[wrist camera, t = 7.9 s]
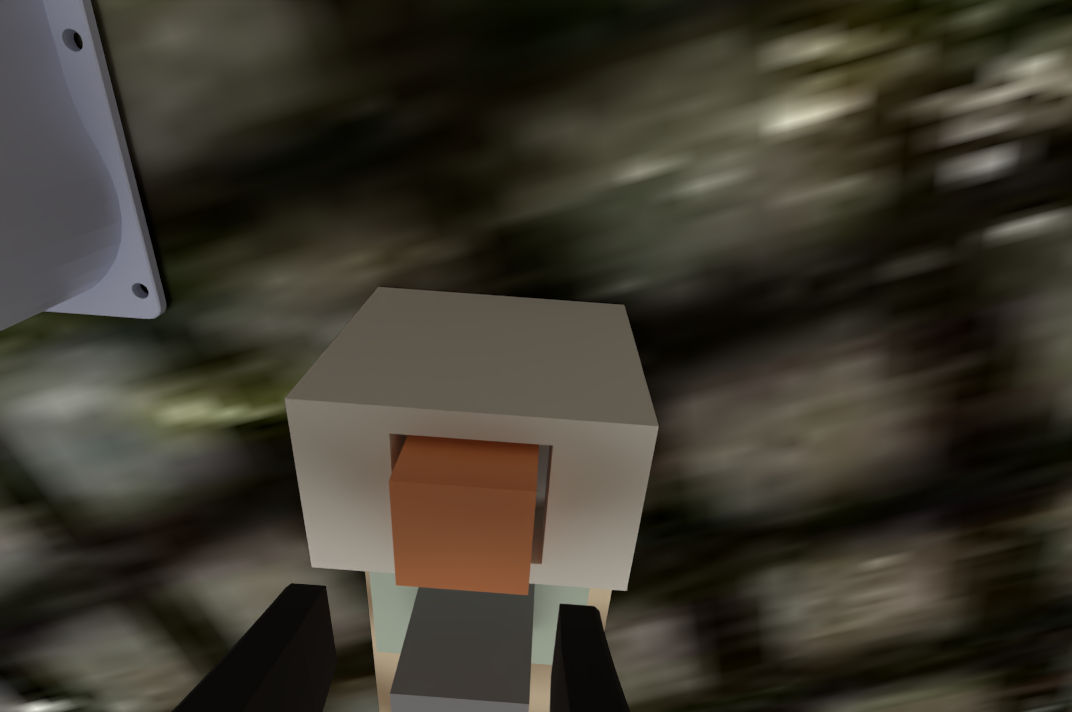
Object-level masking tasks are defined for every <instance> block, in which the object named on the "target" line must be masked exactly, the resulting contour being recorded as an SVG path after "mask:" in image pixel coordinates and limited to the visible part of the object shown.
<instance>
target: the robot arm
mask: <svg viewBox="0 0 1072 712" xmlns="http://www.w3.org/2000/svg"><path fill="white" fill-rule="evenodd" d="M75 32H77V33H78V34H79V35H80V36H81V39H82V41H83V47H82V49H79V48H78V47H77V45H76V43H75V41H74V34H75ZM140 284H143V285H144V286H145V287H147V289H148V291H149V294H148V293H145V292H144V291H143V290H142V288H141V287H140ZM165 310H166V299H165V295H164V291H163V287H162V283H161V279H160V275H159V271H158V267H157V263H156V259H155V256H154V252H153V248H152V244H151V240H150V236H149V232H148V228H147V224H146V220H145V216H144V212H143V208H142V204H141V200H140V196H139V192H138V188H137V184H136V180H135V176H134V172H133V168H132V164H131V160H130V156H129V152H128V148H127V144H126V140H125V136H124V132H123V128H122V124H121V120H120V116H119V112H118V108H117V104H116V100H115V96H114V92H113V88H112V84H111V80H110V76H109V72H108V68H107V64H106V60H105V56H104V52H103V48H102V44H101V40H100V36H99V32H98V28H97V24H96V20H95V16H94V12H93V8H92V4H91V0H0V331H2V330H4V329H6V328H8V327H10V326H13V325H15V324H17V323H19V322H21V321H23V320H26V319H28V318H30V317H32V316H34V315H36V314H38V313H41V312H43V311H47V312H61V313H74V314H88V315H101V316H115V317H128V318H142V319H153V318H156V317H158V316H159V315H161V314H162V313H164V312H165ZM336 663H337V657H336V650H335V644H334V637H333V630H332V624H331V617H330V610H329V604H328V597H327V590H326V586H321V585H307V584H294V583H291V584H290V585H289V586H287V587H286V588H285V589H284V590H283V591H282V593H281V594H280V595H279V596H278V597H277V598H276V599H275V601H274V602H273V603H272V604H271V605H270V606H269V607H268V609H267V610H266V611H265V612H264V613H263V614H262V615H261V617H260V618H259V619H258V620H257V621H256V622H255V623H254V624H253V625H252V627H251V628H250V629H249V630H248V631H247V632H246V633H245V634H244V636H243V637H242V638H241V639H240V640H239V641H238V642H237V643H236V644H235V645H234V646H233V648H232V649H231V650H230V651H229V652H228V653H227V654H226V655H225V656H224V657H223V658H222V660H221V661H220V662H219V663H218V664H217V665H216V666H215V667H214V668H213V669H212V670H211V671H210V672H209V673H208V674H207V675H206V676H205V677H204V679H203V680H202V681H201V682H200V683H199V684H198V685H197V686H196V687H195V688H194V689H193V690H192V691H191V692H190V693H189V694H188V695H187V696H186V697H185V698H184V700H183V701H182V702H181V703H180V704H179V705H178V706H177V707H176V708H175V709H174V710H173V711H172V712H322V711H323V708H324V705H325V702H326V698H327V695H328V691H329V688H330V684H331V681H332V677H333V674H334V670H335V667H336ZM550 712H630V710H629V707H628V704H627V701H626V699H625V696H624V693H623V690H622V688H621V685H620V682H619V679H618V676H617V673H616V670H615V667H614V663H613V660H612V657H611V654H610V650H609V647H608V643H607V640H606V636H605V632H604V628H603V624H602V620H601V615H600V611H599V610H598V609H597V608H596V607H595V606H587V605H574V604H560V605H559V613H558V621H557V630H556V638H555V646H554V654H553V663H552V671H551V685H550Z"/></svg>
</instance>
